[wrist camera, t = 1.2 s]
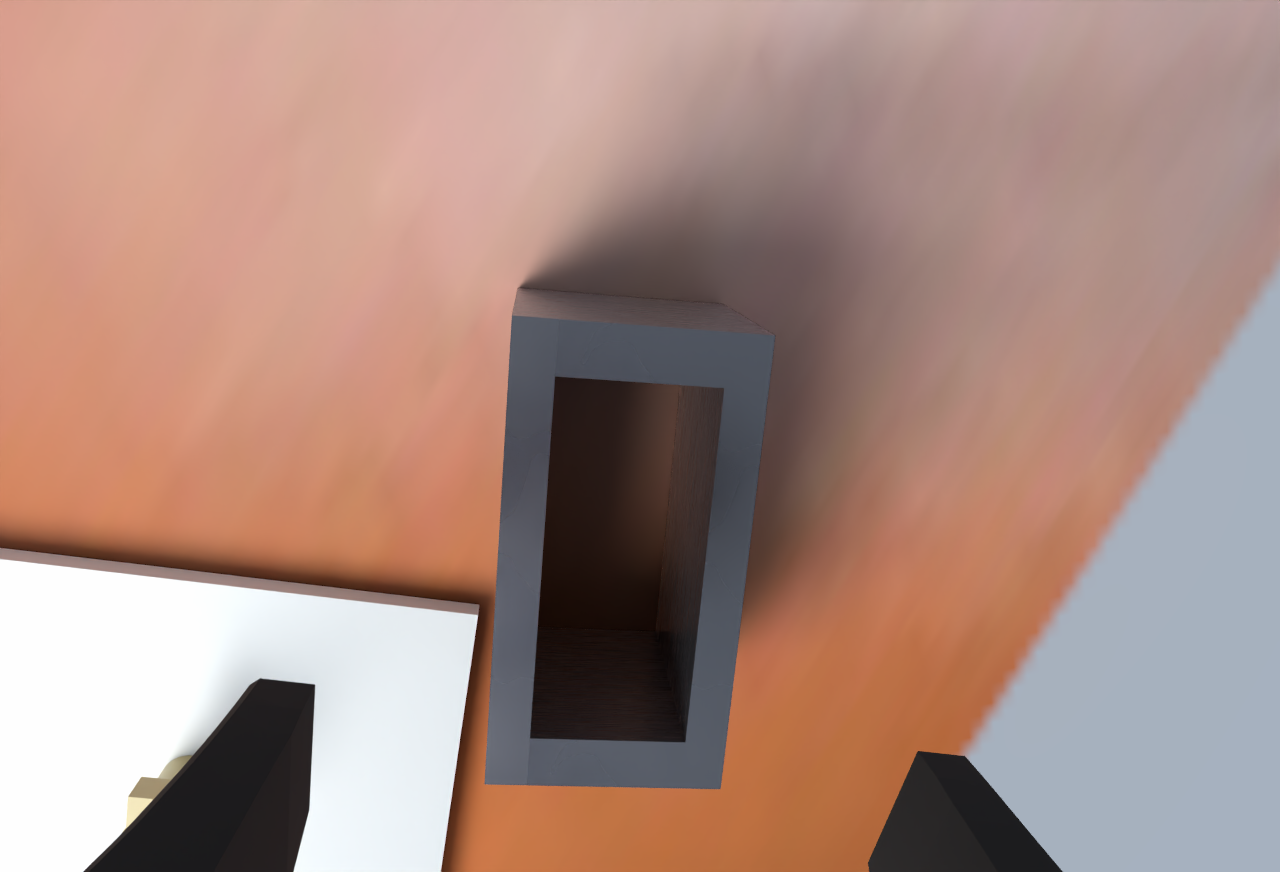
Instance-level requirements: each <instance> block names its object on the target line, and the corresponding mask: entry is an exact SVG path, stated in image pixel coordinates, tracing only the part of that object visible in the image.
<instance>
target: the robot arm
mask: <svg viewBox="0 0 1280 872" xmlns="http://www.w3.org/2000/svg"><path fill="white" fill-rule="evenodd" d="M314 702H315V684H307V683H298V682H289V681H280V680H271V679H262V678H260V679H258V680H257V681H255V682H253V683H252V684H250V685H249V686H248V688H247V689H246V690H245V692H244V693H243V694H242V696H241V697H240V698H239V700H238V701H237V702H236V704H235V705H234V706H233V707H232V709H231V710H230V711H229V712H228V714H227V715H226V716H225V717H224V719H223V720H222V721H221V722H220V724H219V725H218V726H217V727H216V729H215V730H214V731H213V732H212V733H211V735H210V736H209V737H208V738H207V739H206V741H205V742H204V743H203V744H202V745H201V747H200V748H199V749H198V750H197V751H196V752H195V753H194V755H193V756H192V757H191V758H190V759H189V760H188V762H187V763H186V764H185V765H184V766H183V767H182V769H181V770H180V771H179V772H178V773H177V774H176V775H175V776H174V778H173V779H172V780H171V781H170V782H169V783H168V784H167V785H166V786H165V787H164V788H163V789H162V791H161V792H160V793H159V794H158V795H157V796H156V797H155V798H154V799H153V800H152V801H151V802H150V804H149V805H148V806H147V807H146V808H145V809H144V810H143V811H142V812H141V813H140V814H139V815H138V817H137V818H136V819H135V820H134V821H133V822H132V823H131V824H130V825H129V826H128V827H127V828H126V829H125V830H124V831H123V832H122V834H121V835H120V836H119V837H118V838H117V839H116V840H115V841H114V842H113V843H112V844H111V845H110V846H109V847H108V848H107V849H106V850H105V851H104V852H103V853H102V854H101V855H99V856H98V857H97V858H96V859H95V860H94V861H93V862H92V863H91V864H90V865H89V866H88V867H87V868H86V869H85V870H84V871H83V872H294V868H295V864H296V860H297V856H298V852H299V849H300V845H301V841H302V837H303V833H304V829H305V825H306V821H307V817H308V813H309V807H310V786H311V765H312V744H313V723H314ZM868 866H869V872H1062V870H1061V869H1060V868H1059V867H1058V866H1057V865H1056V863H1055V862H1054V861H1053V860H1052V859H1051V857H1050V856H1049V855H1048V854H1047V853H1046V852H1045V850H1044V849H1043V848H1042V847H1041V846H1040V844H1039V843H1038V842H1037V841H1036V840H1035V838H1034V837H1033V836H1032V835H1031V834H1030V832H1029V831H1028V830H1027V829H1026V828H1025V826H1024V825H1023V824H1022V823H1021V822H1020V821H1019V819H1018V818H1017V817H1016V816H1015V814H1014V813H1013V812H1012V811H1011V810H1010V808H1008V806H1007V805H1006V804H1005V802H1004V801H1003V800H1002V799H1001V798H1000V797H999V795H998V794H997V793H996V792H995V791H994V789H993V788H992V787H991V786H990V785H989V783H988V782H987V781H986V780H985V779H984V778H983V776H982V775H981V774H980V773H979V772H978V771H977V769H976V768H975V767H974V766H973V765H972V764H971V763H970V761H969V760H968V759H967V758H966V757H965V756H958V755H949V754H940V753H931V752H922V751H918V752H917V754H916V756H915V759H914V761H913V763H912V765H911V768H910V770H909V772H908V774H907V777H906V779H905V781H904V783H903V786H902V788H901V790H900V792H899V795H898V797H897V799H896V801H895V804H894V806H893V808H892V810H891V813H890V815H889V817H888V819H887V821H886V824H885V826H884V828H883V830H882V833H881V835H880V837H879V839H878V842H877V844H876V846H875V848H874V851H873V853H872V855H871V857H870V860H869V862H868Z"/></svg>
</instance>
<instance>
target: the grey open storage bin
mask: <svg viewBox="0 0 1280 872" xmlns="http://www.w3.org/2000/svg"><path fill="white" fill-rule="evenodd" d="M774 342H775V335H774V334H772V333H770V332H769V331H767V330H765V329H764V328H762V327H760V326H759V325H757V324H755V323H754V322H752V321H751V320H749V319H747V318H746V317H744V316H742V315H741V314H739V313H737V312H736V311H734V310H732V309H731V308H729V307H727V306H726V305H724V304H715V303H702V302H690V301H677V300H664V299H652V298H639V297H627V296H614V295H602V294H589V293H576V292H564V291H551V290H539V289H526V288H518V289H517V294H516V299H515V304H514V308H513V313H512V324H511V342H510V359H509V376H508V393H507V410H506V427H505V444H504V461H503V478H502V495H501V513H500V530H499V547H498V564H497V581H496V598H495V615H494V632H493V649H492V666H491V684H490V701H489V718H488V735H487V752H486V769H485V784H494V785H544V786H593V787H643V788H692V789H721V780H722V772H723V764H724V756H725V747H726V739H727V731H728V722H729V714H730V706H731V698H732V689H733V681H734V673H735V665H736V656H737V648H738V640H739V632H740V623H741V615H742V607H743V599H744V590H745V582H746V574H747V565H748V557H749V549H750V541H751V532H752V524H753V516H754V508H755V499H756V491H757V483H758V475H759V466H760V458H761V450H762V442H763V433H764V425H765V417H766V408H767V400H768V392H769V384H770V375H771V367H772V359H773V351H774ZM555 376H556V377H571V378H585V379H599V380H614V381H628V382H643V383H657V384H672V385H680V392H679V402H678V412H677V422H676V432H675V442H674V452H673V462H672V472H671V482H670V492H669V502H668V512H667V522H666V532H665V542H664V552H663V562H662V572H661V582H660V592H659V602H658V613H657V623H656V631H637V630H612V629H586V628H561V627H538V614H539V600H540V585H541V571H542V557H543V542H544V528H545V514H546V499H547V485H548V470H549V456H550V442H551V427H552V413H553V399H554V384H555Z"/></svg>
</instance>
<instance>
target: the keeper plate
mask: <svg viewBox="0 0 1280 872" xmlns="http://www.w3.org/2000/svg"><path fill="white" fill-rule="evenodd" d="M478 612H479V605H478V604H470V603H462V602H453V601H445V600H436V599H428V598H419V597H411V596H403V595H394V594H386V593H377V592H369V591H360V590H352V589H343V588H335V587H327V586H318V585H310V584H301V583H293V582H284V581H276V580H268V579H259V578H251V577H242V576H234V575H225V574H217V573H209V572H200V571H192V570H183V569H175V568H166V567H158V566H150V565H141V564H133V563H124V562H116V561H107V560H99V559H90V558H82V557H74V556H65V555H57V554H48V553H40V552H31V551H23V550H15V549H6V548H0V872H83V871H84V870H85V869H86V868H87V867H88V866H89V865H90V864H91V863H92V862H93V861H94V860H95V859H96V858H97V857H98V856H99V855H101V854H102V853H103V852H104V851H105V850H106V849H107V848H108V847H109V846H110V845H111V844H112V843H113V842H114V841H115V840H116V839H117V838H118V837H119V836H120V835H121V834H122V832H123V831H124V830H125V829H126V828H127V827H128V826H129V825H130V824H131V823H132V822H133V821H134V820H135V819H136V818H137V817H138V815H139V814H140V813H141V812H142V811H143V810H144V809H145V808H146V807H147V806H148V805H149V804H150V802H151V801H152V800H153V799H154V798H155V797H156V796H157V795H158V794H159V793H160V792H161V791H162V789H163V788H164V787H165V786H166V785H167V784H168V783H169V782H170V781H171V780H172V779H173V778H174V776H175V775H176V774H177V773H178V772H179V771H180V770H181V769H182V767H183V766H184V765H185V764H186V763H187V762H188V760H189V759H190V758H191V757H192V756H193V755H194V753H195V752H196V751H197V750H198V749H199V748H200V747H201V745H202V744H203V743H204V742H205V741H206V739H207V738H208V737H209V736H210V735H211V733H212V732H213V731H214V730H215V729H216V727H217V726H218V725H219V724H220V722H221V721H222V720H223V719H224V717H225V716H226V715H227V714H228V712H229V711H230V710H231V709H232V707H233V706H234V705H235V704H236V702H237V701H238V700H239V698H240V697H241V696H242V694H243V693H244V692H245V690H246V689H247V688H248V686H249V685H250V684H252V683H253V682H255V681H257V680H258V679H260V678H262V679H271V680H280V681H289V682H298V683H307V684H315V702H314V723H313V744H312V765H311V786H310V807H309V813H308V817H307V821H306V825H305V829H304V833H303V837H302V841H301V845H300V849H299V852H298V856H297V860H296V864H295V868H294V872H441V867H442V860H443V853H444V846H445V839H446V832H447V826H448V819H449V812H450V805H451V798H452V791H453V784H454V777H455V771H456V764H457V757H458V750H459V743H460V736H461V729H462V722H463V716H464V709H465V702H466V695H467V688H468V681H469V674H470V667H471V661H472V654H473V647H474V640H475V633H476V626H477V619H478Z"/></svg>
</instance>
